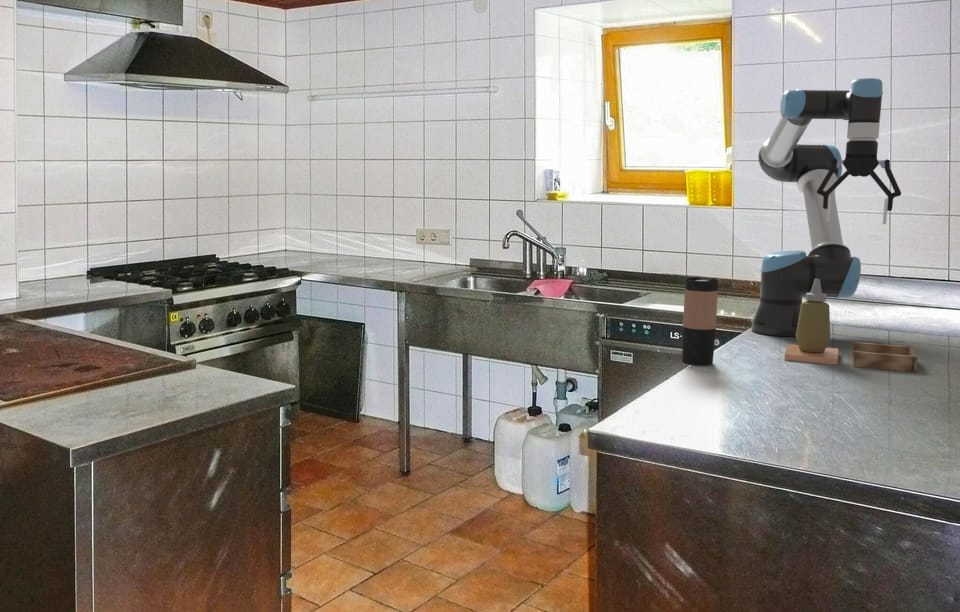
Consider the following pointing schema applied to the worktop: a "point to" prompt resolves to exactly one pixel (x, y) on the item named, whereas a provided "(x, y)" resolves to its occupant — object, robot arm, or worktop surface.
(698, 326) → the travel mug
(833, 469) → the worktop surface
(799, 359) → the terracotta tile
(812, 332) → the squeeze bottle
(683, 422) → the worktop surface
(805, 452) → the worktop surface
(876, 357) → the wooden tray
